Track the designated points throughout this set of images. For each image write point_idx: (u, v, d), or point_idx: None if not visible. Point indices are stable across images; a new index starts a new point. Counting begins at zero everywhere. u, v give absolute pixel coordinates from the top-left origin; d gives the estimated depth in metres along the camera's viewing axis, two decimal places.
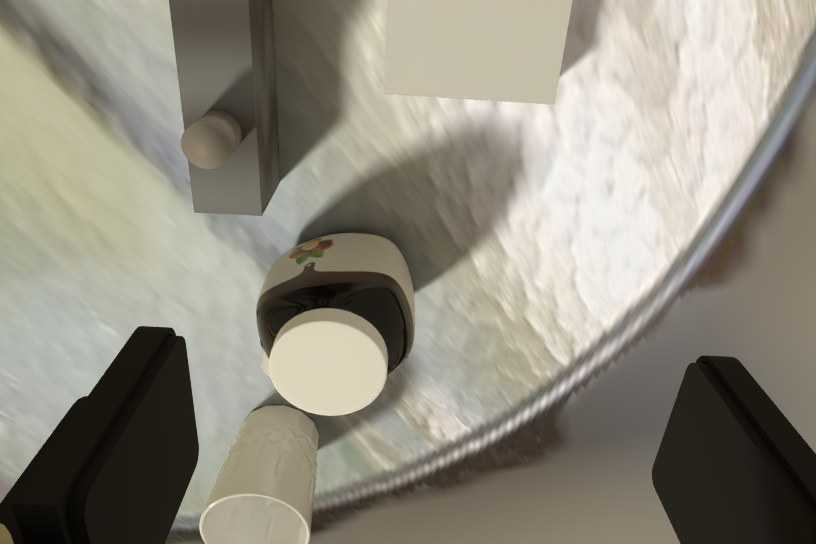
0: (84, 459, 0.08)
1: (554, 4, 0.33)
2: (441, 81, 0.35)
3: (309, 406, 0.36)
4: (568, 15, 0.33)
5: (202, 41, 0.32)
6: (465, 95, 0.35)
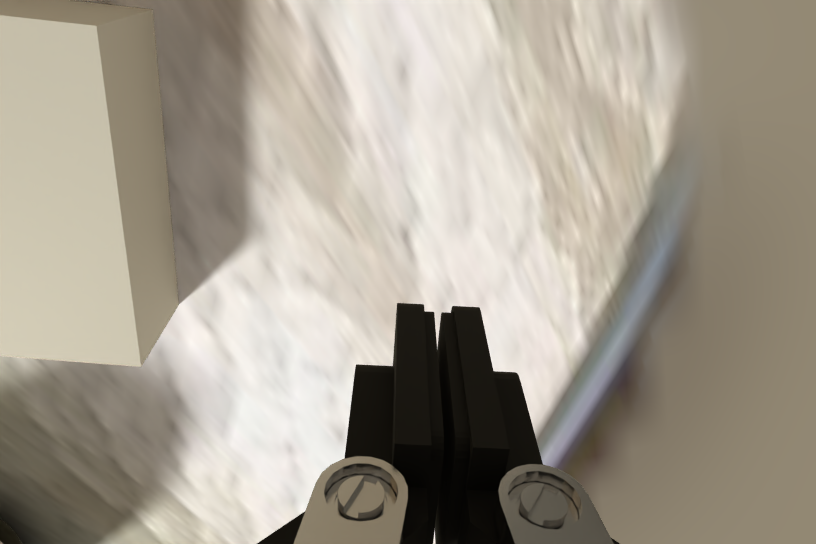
0: (429, 410, 0.09)
1: (85, 206, 0.16)
2: None
3: None
4: (119, 226, 0.17)
5: None
6: None
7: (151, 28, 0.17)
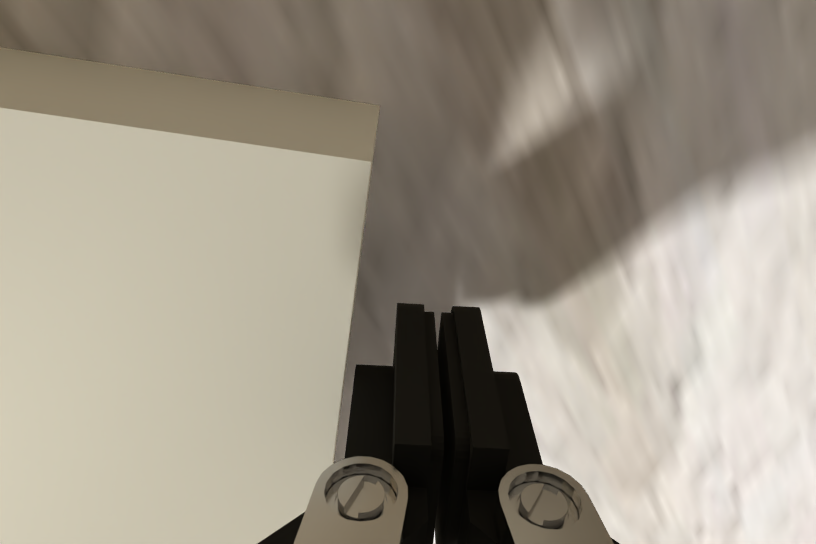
0: (429, 409, 0.09)
1: (289, 400, 0.11)
2: None
3: None
4: (332, 427, 0.11)
5: None
6: None
7: (376, 132, 0.12)
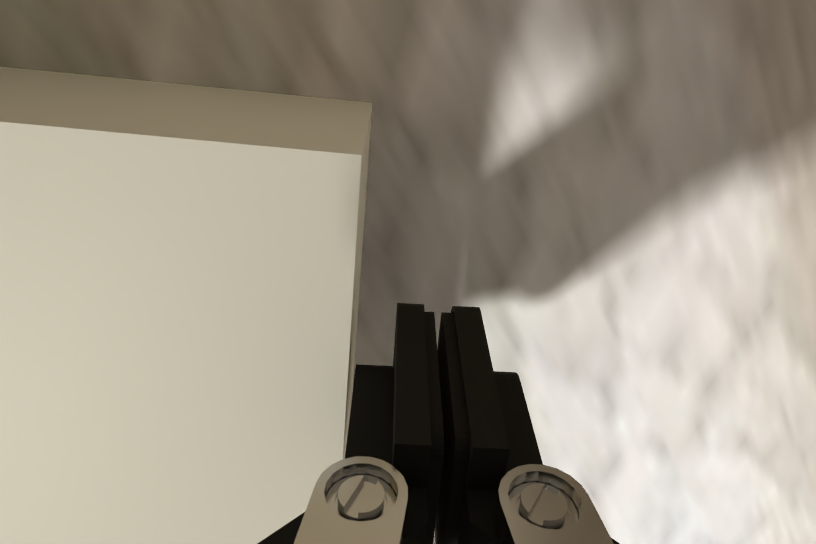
0: (429, 410, 0.09)
1: (297, 393, 0.11)
2: (23, 534, 0.13)
3: None
4: (340, 417, 0.12)
5: None
6: None
7: (370, 127, 0.12)
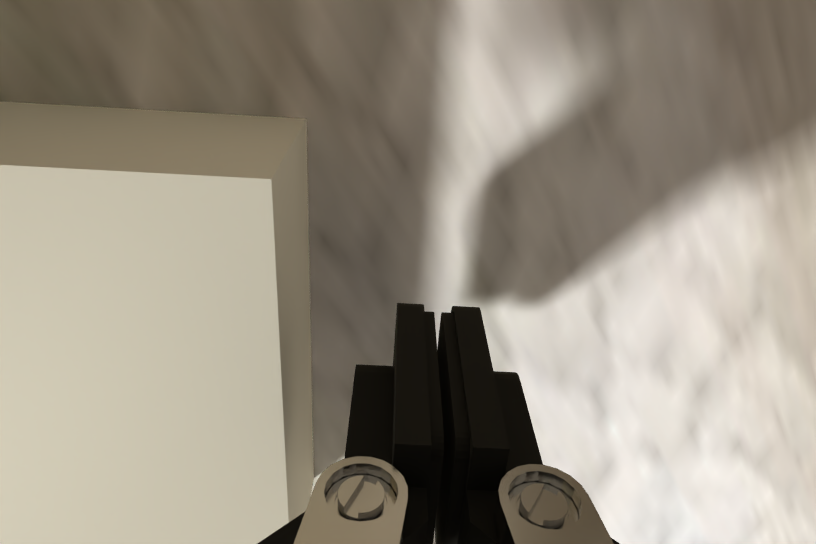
0: (429, 409, 0.09)
1: (233, 417, 0.11)
2: None
3: None
4: (279, 441, 0.11)
5: None
6: None
7: (305, 145, 0.12)
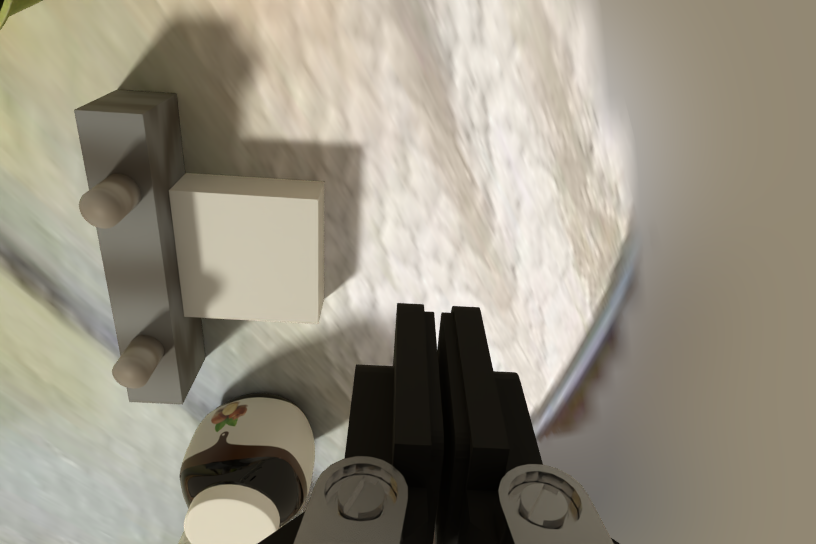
0: (429, 409, 0.09)
1: (305, 260, 0.43)
2: (227, 308, 0.45)
3: None
4: (316, 267, 0.43)
5: (130, 292, 0.42)
6: (247, 317, 0.45)
7: None
